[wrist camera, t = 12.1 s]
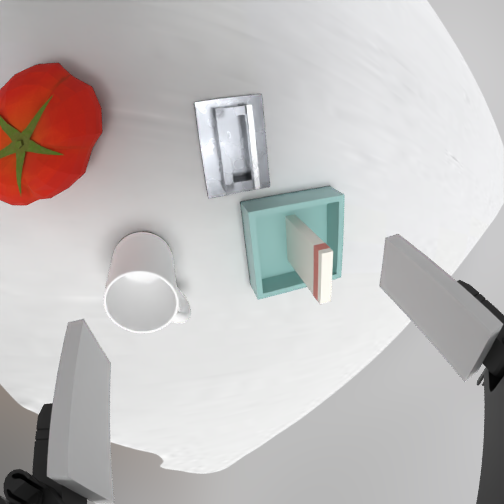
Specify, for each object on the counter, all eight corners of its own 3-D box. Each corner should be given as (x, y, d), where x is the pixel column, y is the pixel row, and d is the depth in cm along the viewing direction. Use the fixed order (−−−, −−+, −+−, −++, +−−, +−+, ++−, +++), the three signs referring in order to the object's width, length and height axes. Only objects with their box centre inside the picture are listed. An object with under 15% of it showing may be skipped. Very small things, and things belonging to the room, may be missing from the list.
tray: (240, 201, 41) (248, 212, 37) (329, 185, 43) (344, 194, 40) (250, 284, 47) (258, 299, 44) (328, 264, 50) (341, 277, 46)
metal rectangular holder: (194, 102, 33) (197, 102, 30) (260, 94, 35) (269, 94, 32) (208, 196, 39) (212, 205, 36) (268, 185, 41) (277, 193, 38)
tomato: (-21, 132, 26) (-63, 147, 17) (73, 44, 26) (45, 29, 17) (36, 214, 33) (7, 249, 25) (132, 136, 33) (122, 149, 25)
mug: (204, 271, 44) (218, 317, 35) (165, 308, 45) (170, 358, 36) (139, 217, 38) (135, 255, 29) (101, 260, 39) (89, 306, 30)
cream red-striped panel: (285, 216, 43) (321, 253, 34) (294, 214, 43) (333, 250, 34) (287, 260, 46) (320, 304, 37) (296, 258, 47) (330, 301, 37)
